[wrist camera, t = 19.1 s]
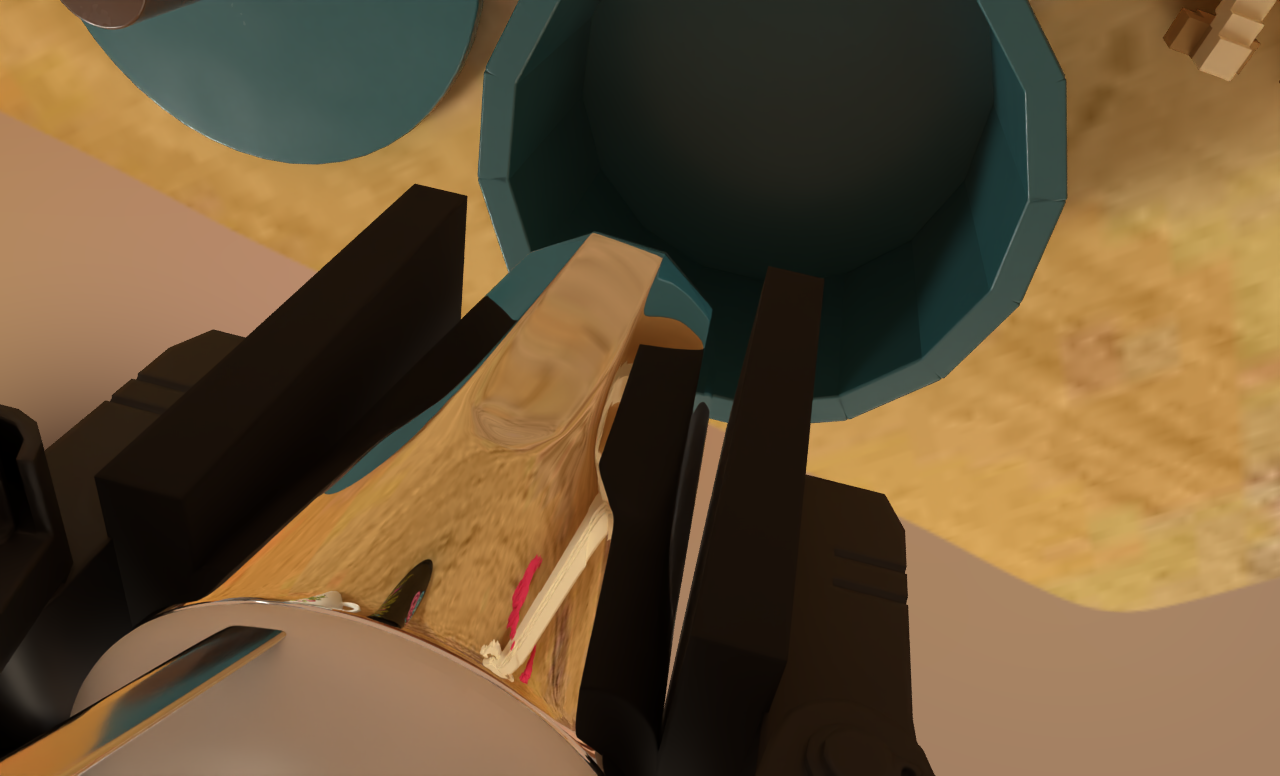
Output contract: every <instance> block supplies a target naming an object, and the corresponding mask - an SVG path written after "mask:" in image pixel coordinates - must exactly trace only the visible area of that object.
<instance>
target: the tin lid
mask: <svg viewBox="0 0 1280 776" xmlns="http://www.w3.org/2000/svg"><path fill="white" fill-rule="evenodd" d="M60 1H61V2H62V3H63V4H64V5H65V6H66V7H67V8H68V9H69V10H70V11H71V12H72V13H73V14H75V15H76V16H77V17H79V18H80V19H81V20H82V21H83V23H84V24H85V26H86V27H87V29H88V30H89V32H90V33H91V35H92V36H93V38H94V39H95V40H96V42H97V43H98V44H99V45H100V46H101V48H102V49H103V50H104V51H105V53H106V54H107V55H108V56H109V57H110V59H111V60H112V61H113V62H114V64H115V65H116V66H117V67H118V68H119V69H120V70H121V71H122V72H123V73H124V74H125V75H126V76H127V77H128V78H129V79H130V80H131V81H132V82H133V83H134V84H135V85H136V86H137V87H138V88H139V89H140V90H141V91H142V92H144V93H145V94H146V95H147V96H148V97H149V98H151V99H152V100H153V101H154V102H155V103H156V104H158V105H159V106H160V107H161V108H162V109H164V110H165V111H167V112H168V113H169V114H171V115H172V116H174V117H175V118H177V119H178V120H179V121H181V122H182V123H184V124H185V125H187V126H188V127H190V128H192V129H194V130H195V131H197V132H199V133H201V134H203V135H204V136H206V137H208V138H210V139H211V140H214V141H216V142H218V143H221V144H223V145H225V146H228V147H230V148H232V149H235V150H237V151H240V152H243V153H246V154H250V155H253V156H256V157H260V158H263V159H268V160H274V161H279V162H285V163H292V164H325V163H334V162H343V161H346V160H350V159H354V158H358V157H362V156H365V155H368V154H370V153H372V152H375V151H377V150H379V149H381V148H384V147H386V146H388V145H390V144H391V143H393V142H395V141H396V140H398V139H399V138H401V137H402V136H404V135H405V134H407V133H408V132H410V131H411V130H412V129H414V128H415V127H416V126H417V125H418V124H419V123H420V122H421V121H422V120H424V119H425V118H426V117H427V116H428V115H429V114H430V113H431V112H432V111H433V110H434V109H435V108H436V107H437V105H438V104H439V103H440V102H441V100H442V99H443V98H444V97H445V96H446V94H447V93H448V92H449V91H450V89H451V87H452V86H453V84H454V82H455V80H456V79H457V77H458V75H459V73H460V72H461V70H462V68H463V67H464V64H465V62H466V59H467V57H468V54H469V52H470V49H471V47H472V44H473V42H474V39H475V36H476V32H477V28H478V24H479V20H480V16H481V12H482V8H483V0H60Z"/></svg>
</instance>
